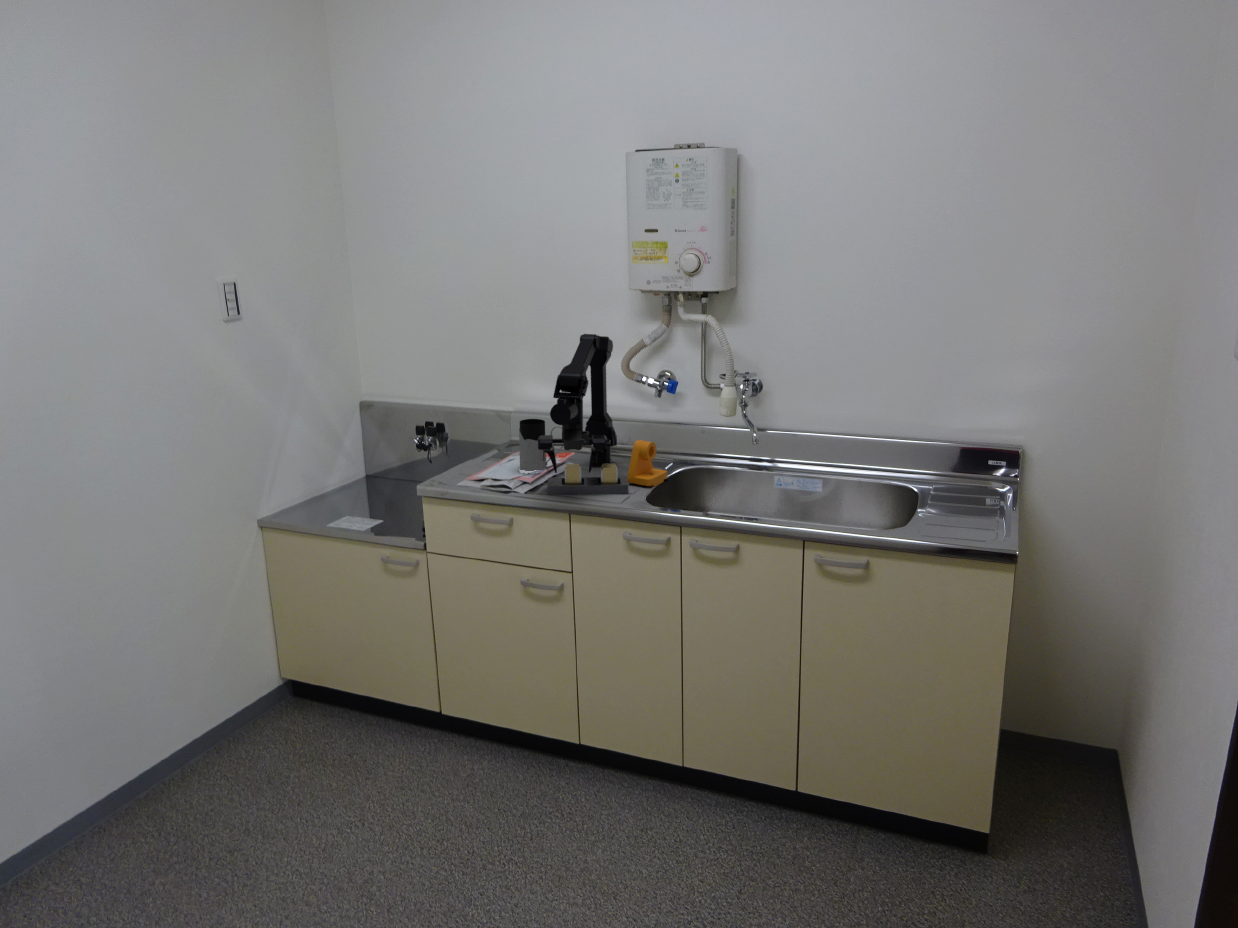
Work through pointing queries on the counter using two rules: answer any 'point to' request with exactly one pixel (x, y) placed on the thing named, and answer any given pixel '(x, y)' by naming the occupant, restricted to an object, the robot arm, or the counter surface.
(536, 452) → the glass holder
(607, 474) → the tan-capped ribbed block
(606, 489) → the tray
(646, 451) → the bracket
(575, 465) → the gold metal block
